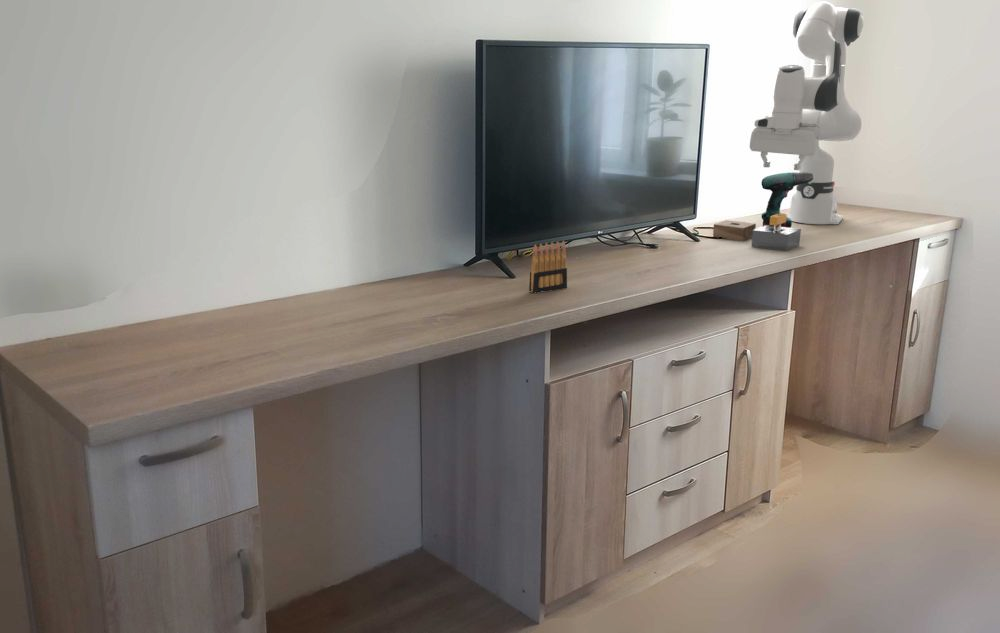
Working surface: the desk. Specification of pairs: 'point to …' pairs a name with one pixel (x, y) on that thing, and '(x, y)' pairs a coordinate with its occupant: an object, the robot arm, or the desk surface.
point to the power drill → (781, 192)
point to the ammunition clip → (548, 268)
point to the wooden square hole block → (734, 230)
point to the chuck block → (776, 238)
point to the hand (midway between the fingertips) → (781, 168)
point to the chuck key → (778, 220)
